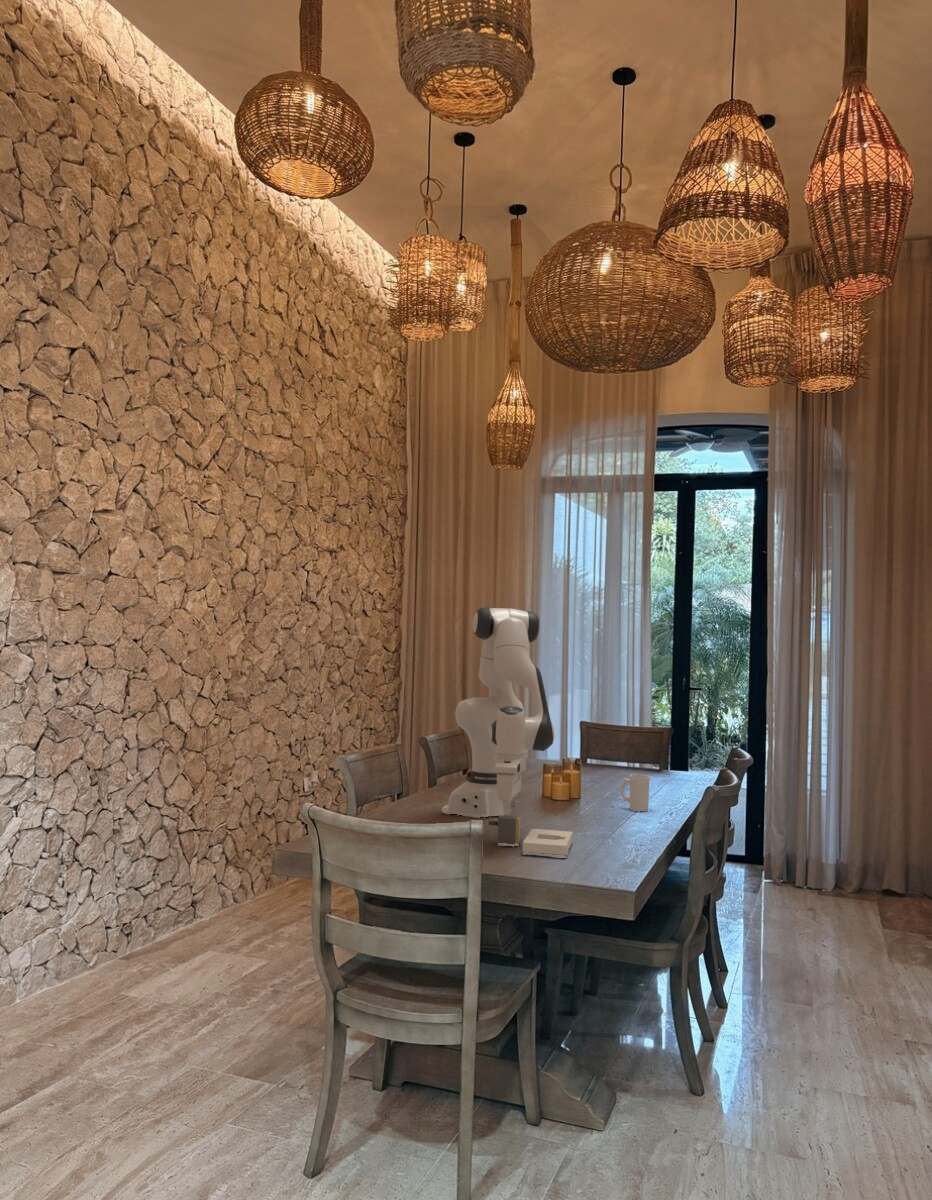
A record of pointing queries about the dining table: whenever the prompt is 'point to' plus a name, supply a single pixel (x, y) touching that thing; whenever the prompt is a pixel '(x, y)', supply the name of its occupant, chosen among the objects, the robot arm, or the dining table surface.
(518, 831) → the plug
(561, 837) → the socket block
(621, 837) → the dining table surface
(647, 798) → the mug
